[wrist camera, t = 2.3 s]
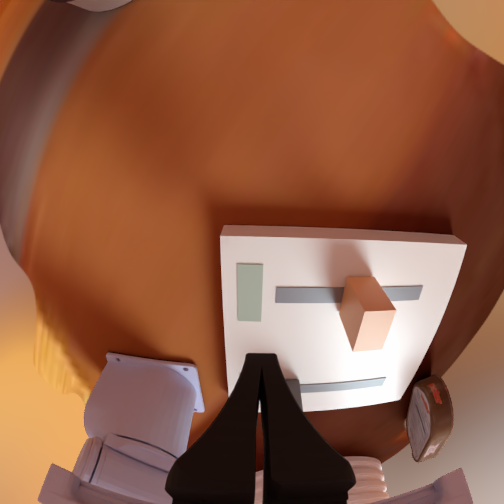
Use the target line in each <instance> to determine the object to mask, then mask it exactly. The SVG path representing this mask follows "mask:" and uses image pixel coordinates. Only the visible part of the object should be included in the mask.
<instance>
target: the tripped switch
mask: <svg viewBox="0 0 504 504" xmlns="http://www.w3.org/2000/svg"><path fill="white" fill-rule="evenodd" d="M395 313H396V309H395V307H394V305H393V304H392V302H391V301H390V299H389V298H388V296H387V295H386V293H385V292H384V290H383V289H382V287H381V286H380V284H379V283H378V281H377V280H376V278H375V277H374V276H369V277H346V282H345V287H344V292H343V297H342V302H341V307H340V311H339V316H340V318H341V321H342V324H343V326H344V329H345V332H346V335H347V337H348V340H349V343H350V346H351V348H352V351H353V352H358V351H370V350H381V349H382V348H383V346H384V343H385V341H386V338H387V335H388V333H389V330H390V327H391V324H392V322H393V319H394V316H395Z"/></svg>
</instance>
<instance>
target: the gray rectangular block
mask: <svg viewBox="0 0 504 504" xmlns="http://www.w3.org/2000/svg"><path fill="white" fill-rule="evenodd" d="M286 382H287V384H288V386H289V388H290V391H291V392H292V394H293V396H294V398H295V400H296V401H297V403H298V405H299V406H300V408H301V410H302V411H303V407H302V398H301V390H300V382H299V380H286Z"/></svg>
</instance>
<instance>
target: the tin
mask: <svg viewBox="0 0 504 504" xmlns="http://www.w3.org/2000/svg"><path fill="white" fill-rule="evenodd" d="M406 428H407V435H408V438H409V441H410V445H411V449H412V456H413V458H414V460H415V461H416V462H422V461H425V460H427V459H430V458H434V457H436V456H437V455H438V453H439V452H440V450H441V449H442V447H443V446H444V444H445V442H446V441H447V440H448V438H449V436H450V435H451V432H452V428H453V407H452V402H451V398H450V394H449V391H448V389H447V387H446V385H445V383H444V381H443V380H442V378H441V377H440V376H439V375H437V374H434V375H432V376H430V377H428V378H425V379H422V380H420V381H418V382H416V383H415V384H414V386H413V389H412V394H411V399H410V403H409V407H408V412H407V417H406Z"/></svg>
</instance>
